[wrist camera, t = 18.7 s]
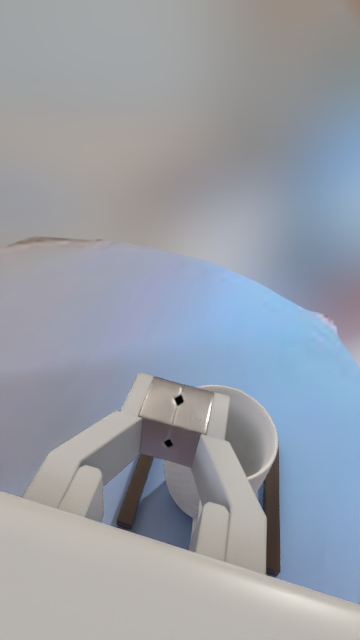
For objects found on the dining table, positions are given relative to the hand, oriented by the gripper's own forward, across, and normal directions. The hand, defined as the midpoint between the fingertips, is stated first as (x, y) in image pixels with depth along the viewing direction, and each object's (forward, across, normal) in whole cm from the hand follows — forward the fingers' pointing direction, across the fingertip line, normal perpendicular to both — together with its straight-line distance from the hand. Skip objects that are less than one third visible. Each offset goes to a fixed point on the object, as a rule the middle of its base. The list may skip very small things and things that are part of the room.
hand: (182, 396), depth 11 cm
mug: (+13, +4, -32) cm, 35 cm away
